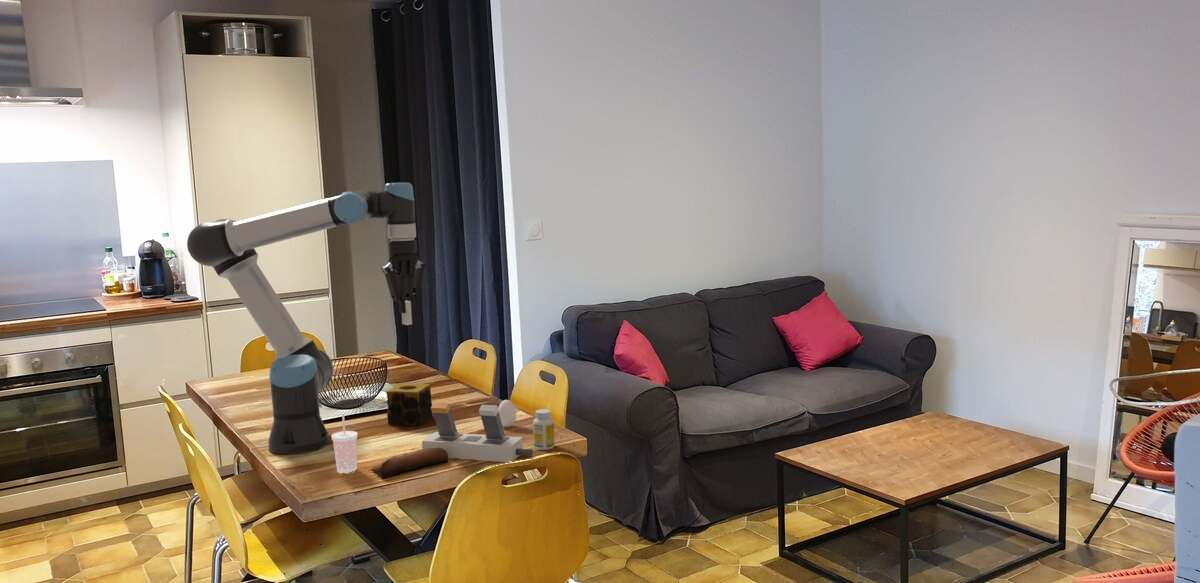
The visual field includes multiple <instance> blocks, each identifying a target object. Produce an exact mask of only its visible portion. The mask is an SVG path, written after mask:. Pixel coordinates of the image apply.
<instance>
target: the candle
mask: <svg viewBox="0 0 1200 583" xmlns="http://www.w3.org/2000/svg"><path fill="white" fill-rule="evenodd" d="M431 388H432V386H431V384H430V383H399V384H397V385H395V386H393V387H392V388H390V389H388V390H386V391H385V392H386V393H385V394H386V398H387V402H386V404H387V414H386V416H387V425H389V426H415V427H420V426H422V425H423V424H425V423H426V422H427V421H429V420H430V419H431V418H433V413H432V410H431V406H432V405H433V401H432V394H431V393H432V390H431Z"/></svg>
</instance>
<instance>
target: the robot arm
mask: <svg viewBox="0 0 1200 583" xmlns="http://www.w3.org/2000/svg"><path fill="white" fill-rule="evenodd" d="M414 196H415V195H414V188H413V184H412V183H410V182H389V183H388V182H387V183H386V184H385V185H384V190H350V191H344V192H342V193H341V194H340V195H335V196H332V197H328V198H324V199H320V200H316V201H313V202H308V203H305V204H301V205H298V206H294V207H293V206H292V207H290V208H285V209H282V210H278V211H273V212H270V213H267V214H263V215H259V216H255V217H251V218H248V219H243V220H239V221H237V220H233V219H228V218H225V219H217V220H214V221H207V222H204V223H200V224H198V225H197V226H195V227H194V228H193V229H192V230H191V231H190V232H189V234H188V237H187V240H186V241H187V242H186V246H187V251H188V253H189V254H190V257H191V258H192V259H193V260H194V261H195V262H196V263H198V264H200V265H203V266H206V267H212V268H213V270H214V271H215V274H217V276H218V277H219V278H223V279H226V280H228V282H229V283H230V285H231V287H233V290H234V291H235V292H236V294H237V296H238V297H239V299H240V300H241V302H242V303H243V305H244V306H245V308H246V310H248V312H249V314H250V315H251V317H252V319H253V320H254V322H255V324H256V325H257V326H258V328H259V330H260V331H261V333H262V334H263V336H264V337H265V339H266V341H267V342H268V343H269V345H270V346H271V348H272V350H273V351H274V352H275V357H274V358H275V359H274V361H273V362H272V363H271V365H270V367H269V380H270V390H271V401H272V415H273V420H272V421H273V422H272V426H271V429H270V431H269V432H270V434H269V438H268V442H267V443H268V450H269V451H270V452H271V453H274V454H278V455H295V454H304V453H309V452H312V451H313V452H314V451H316V450H319V449H322V448H324V447H326V446H327V445H328V444H329V434H328V430H327V428H326V426H325V423H324V422H323V419H322V417H321V413H320V399H319V393H320V392H322V391H323V390H324V389H326V387H328V385H329V384H330V381H331V379H332V378H333V375H334V363H333V360H332V358H331V357H330V356H329V354H328V353H327V352H325V351H324V350H322V349H319V348H318V346H317V344H316V343H315V341H314V340H313V338H308V337H306V336H304V335H303V333H302V332H301V330H300V329H299V327H298V325H297V324H296V322H295V320H294V319H293V318H292V316H291V314H290V313H289V312H288V310H287V308H286V307H285V305H284V303H283V302H282V300H281V299H280V297H279V295H278V294H277V292H276V291H275V290H274V288H273V287H272V285H271V283H270V282H269V280H268V278H267V277H266V275H265V274H264V272H263V271H262V269H261V268H260V266H259V265H258V258H259V253H258V252H257V250H256V249H257V248H259V247H264V246H268V245H272V244H275V243H279V242H282V241H286V240H290V239H293V238H295V239H296V238H299V237H302V236H306V235H309V234H313V233H316V232H321V231H323V230H324V231H325V230H328V229H331V228H335V227H340V226H341V227H342V226H344V225H348V224H354V223H357V222H359V221H364V220H366V219H367V220H371V219H386V222H387V223H386V224H387V238H388V239H389V240H388V242H387V243H388V254H389V259H388V263H387V264H386V265H385V266H384V265H383V266H381V271H382V273H383V274H384V275H385V279H386V283H387V287H388V289H389V294H390V297H391V300H394V301H397V302H398V311H399V314H401V324H402V325H405V326H411V325H413V319H412V313H413V312H414V308H415V307H414V302H415V301H416V299H417V298H420V293H421V287H422V281H423V273H424V270H425V269H426V266H427V265H426V262H422V261H420V260H419V258H418V256H417V252H418V246H417V240H416V239H415V238H417V229H416V228H417V227H416V226H417V225H416V214H415V213H416V212H415V211H416V210H415V207H416V206H415V197H414ZM393 271H394V272H393ZM395 278H396V280H395Z"/></svg>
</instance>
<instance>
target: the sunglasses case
mask: <svg viewBox="0 0 1200 583" xmlns="http://www.w3.org/2000/svg"><path fill="white" fill-rule="evenodd" d="M446 461H447V462H446ZM441 462H446V463H448V462H449V458H448V454H447V452H446V451H445V450H444V449H442V448H427V449H418V450H415V451H413V452H410V453H403V454H402V455H395V456H392V457H389V458H388V459H387V460H385V461H384V462H382V463H379V464H377V465H375V466H374V467H372V468H370V469H369V470H371V471H373V473H375V474H377V475H378V476H380V477H382V479H383V478H388V477H391V476H394V475H397V474H399V473H402V472H405V471H407V470H412V469H416V468H421V467H424V466H430V465H433V464H436V463H437V464H439V463H441ZM373 473H372V474H373ZM375 474H374V475H375ZM378 476H377V477H378Z"/></svg>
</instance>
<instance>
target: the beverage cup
mask: <svg viewBox="0 0 1200 583" xmlns="http://www.w3.org/2000/svg"><path fill="white" fill-rule="evenodd" d="M341 419H342V420H341V422H342V431H337V432H335V433H333V434H331V441H332V442H333V443H332V445H333V449H334V450H333V451H334V458H335V465H336V472H337V473H338V472H339V473H338V474H342V473H346V474H349V473H348V472H352V471H354V472H355V470H356V469H357V468H358V466H357V464H358V463H357V453H358V452H357V448H358V447H357V445H358V443H357V439H358V432H357V431H353V430H346V423H345V413H342V415H341ZM356 471H357V470H356ZM352 473H353V472H352Z"/></svg>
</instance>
